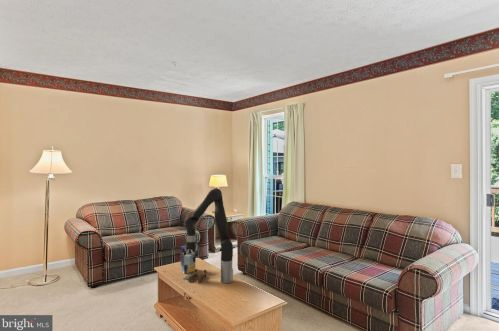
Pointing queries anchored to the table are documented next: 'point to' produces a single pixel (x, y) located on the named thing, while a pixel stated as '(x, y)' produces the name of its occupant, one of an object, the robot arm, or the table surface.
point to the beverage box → (186, 267)
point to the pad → (188, 277)
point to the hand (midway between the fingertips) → (190, 261)
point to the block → (188, 259)
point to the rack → (199, 277)
